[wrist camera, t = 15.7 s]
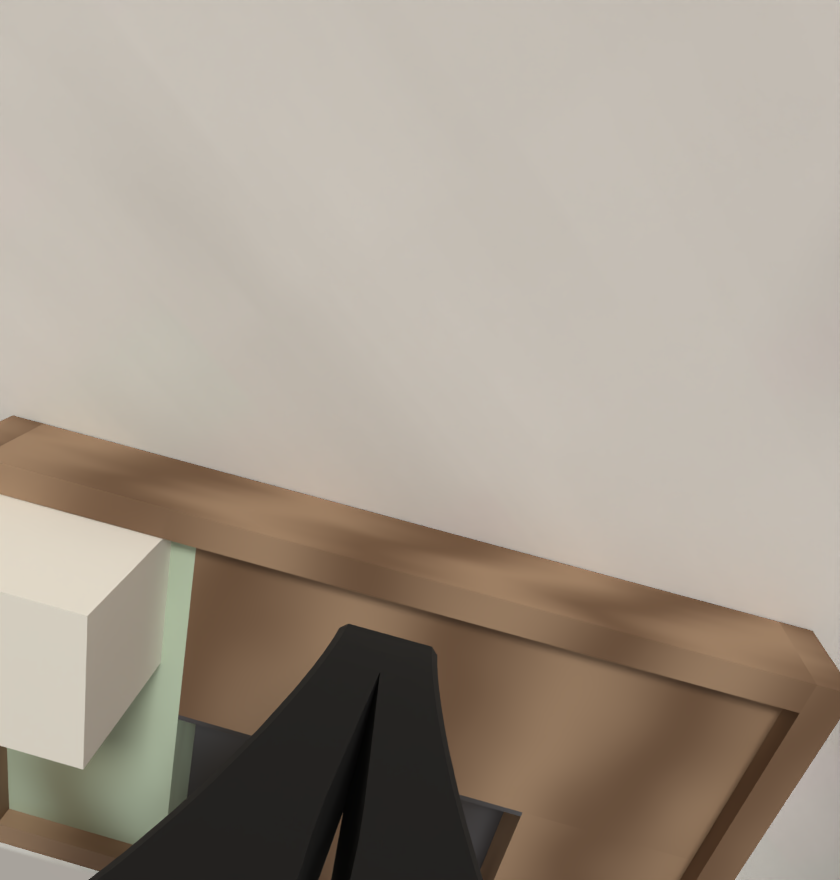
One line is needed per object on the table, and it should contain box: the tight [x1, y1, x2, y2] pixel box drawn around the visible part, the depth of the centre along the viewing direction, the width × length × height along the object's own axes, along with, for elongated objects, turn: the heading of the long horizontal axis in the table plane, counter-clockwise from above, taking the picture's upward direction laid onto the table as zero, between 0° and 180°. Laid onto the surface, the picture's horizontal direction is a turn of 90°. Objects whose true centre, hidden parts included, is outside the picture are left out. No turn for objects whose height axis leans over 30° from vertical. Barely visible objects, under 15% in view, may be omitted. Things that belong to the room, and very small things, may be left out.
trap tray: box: [0, 416, 840, 880], centre depth 22 cm, size 25×16×3 cm, turn 77°
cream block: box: [0, 494, 171, 769], centre depth 18 cm, size 5×5×4 cm
